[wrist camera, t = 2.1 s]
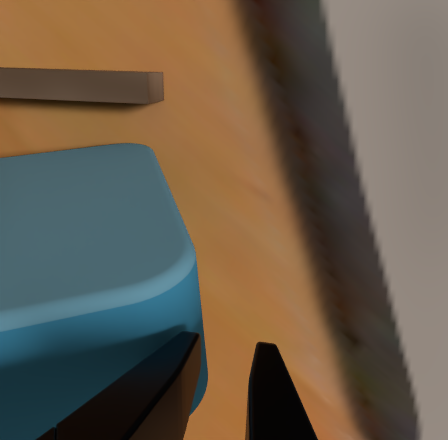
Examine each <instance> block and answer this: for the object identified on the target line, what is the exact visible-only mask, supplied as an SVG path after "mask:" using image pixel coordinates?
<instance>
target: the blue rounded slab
mask: <svg viewBox="0 0 448 440" xmlns="http://www.w3.org/2000/svg"><path fill="white" fill-rule="evenodd" d="M181 331H190V332H197V333H199V334H200V336H201V369H200V374H199V378H198V382H197V386H196V390H195V394H194V399H193V403H192V407H191V411H190V415H191V414H192V413H193V412H194V410H195V409H196V408H197V407H198V405H199V403H200V402H201V400H202V398H203V396H204V394H205V391H206V387H207V382H208V369H207V359H206V349H205V340H204V330H203V320H202V310H201V300H200V291H199V281H198V271H197V261H196V252H195V249H194V246H193V243H192V241H191V238H190V236H189V234H188V231H187V229H186V227H185V224H184V222H183V220H182V217H181V215H180V213H179V210H178V208H177V206H176V203H175V201H174V198H173V196H172V194H171V191H170V189H169V187H168V184H167V182H166V180H165V177H164V175H163V173H162V170H161V168H160V166H159V163H158V161H157V158H156V156H155V154H154V152H153V150H152V149H151V148H150V147H148V146H145V145H141V144H134V143H121V144H111V145H103V146H95V147H87V148H78V149H70V150H62V151H54V152H46V153H38V154H30V155H22V156H14V157H6V158H0V440H36V439H37V438H38V437H40V436H41V435H42V434H44V433H45V432H46V431H48V430H49V429H50V428H52V427H55V428H56V425H57V423H59V422H60V421H61V420H63V419H64V418H65V417H67V416H68V415H69V414H71V413H72V412H73V411H75V410H76V409H78V408H79V407H80V406H82V405H83V404H84V403H86V402H87V401H88V400H90V399H91V398H92V397H94V396H95V395H96V394H98V393H99V392H100V391H102V390H103V389H104V388H106V387H107V386H108V385H110V384H111V383H112V382H114V381H115V380H117V379H118V378H119V377H121V376H122V375H123V374H125V373H126V372H127V371H129V370H130V369H131V368H133V367H134V366H135V365H137V364H138V363H139V362H141V361H142V360H143V359H145V358H146V357H147V356H149V355H150V354H151V353H153V352H154V351H156V350H157V349H158V348H160V347H161V346H162V345H164V344H165V343H166V342H168V341H169V340H170V339H172V338H173V337H174V336H176V335H177V334H178V333H180V332H181ZM190 415H189V416H190Z"/></svg>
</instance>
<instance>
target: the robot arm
mask: <svg viewBox="0 0 448 440" xmlns="http://www.w3.org/2000/svg"><path fill="white" fill-rule="evenodd" d="M200 369H201V336H200V334H199V333H197V332H190V331H181V332H180V333H178V334H177V335H176V336H174V337H173V338H172V339H170V340H169V341H168V342H166V343H165V344H164V345H162V346H161V347H160V348H158V349H157V350H156V351H154V352H153V353H151V354H150V355H149V356H147V357H146V358H145V359H143V360H142V361H141V362H139V363H138V364H137V365H135V366H134V367H133V368H131V369H130V370H129V371H127V372H126V373H125V374H123V375H122V376H121V377H119V378H118V379H117V380H115V381H114V382H112V383H111V384H110V385H108V386H107V387H106V388H104V389H103V390H102V391H100V392H99V393H98V394H96V395H95V396H94V397H92V398H91V399H90V400H88V401H87V402H86V403H84V404H83V405H82V406H80V407H79V408H78V409H76V410H75V411H73V412H72V413H71V414H69V415H68V416H67V417H65V418H64V419H63V420H61V421H60V422H59V423H57V425H56V428H55V427H52V428H50V429H49V430H48V431H46V432H45V433H44V434H42V435H41V436H40V437H38V438H37V439H36V440H183V438H184V434H185V431H186V427H187V423H188V419H189V415H190V411H191V407H192V403H193V399H194V394H195V390H196V386H197V382H198V378H199V374H200ZM245 440H318V439H317V437H316V434H315V432H314V430H313V427H312V425H311V423H310V421H309V418H308V416H307V414H306V411H305V409H304V407H303V405H302V402H301V400H300V398H299V395H298V393H297V391H296V389H295V386H294V384H293V382H292V379H291V377H290V375H289V373H288V370H287V368H286V366H285V363H284V361H283V359H282V357H281V354H280V352H279V350H278V348H277V346H276V345H275V344H273V343H266V342H258V343H257V344H256V348H255V353H254V358H253V362H252V367H251V372H250V377H249V385H248V402H247V418H246V435H245Z"/></svg>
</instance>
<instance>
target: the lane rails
mask: <svg viewBox="0 0 448 440" xmlns="http://www.w3.org/2000/svg"><path fill="white" fill-rule="evenodd" d="M0 97H2V98H25V99H48V100H70V101H93V102H116V103H139V104H150V103H154V102H158V101H162V100H164V89H163V72H135V71H102V70H69V69H36V68H2V67H0Z"/></svg>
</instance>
